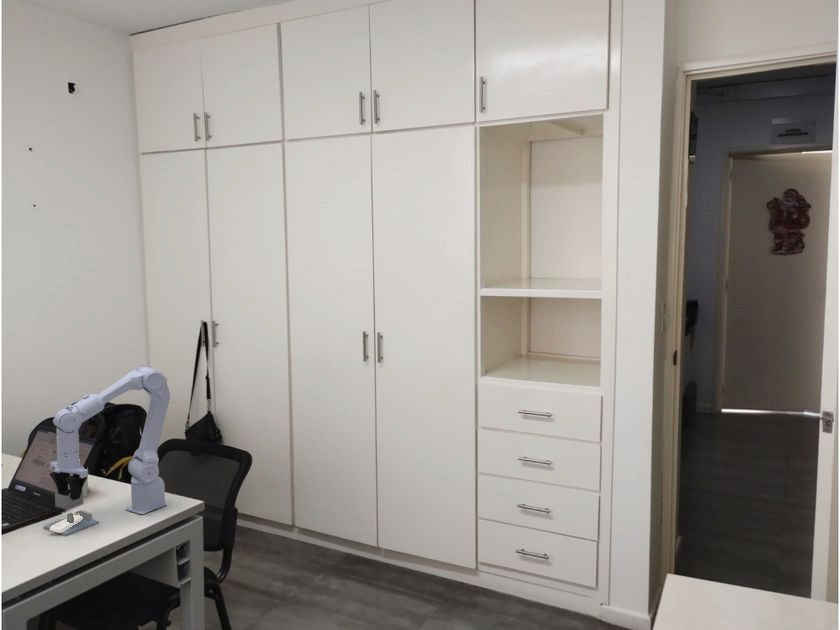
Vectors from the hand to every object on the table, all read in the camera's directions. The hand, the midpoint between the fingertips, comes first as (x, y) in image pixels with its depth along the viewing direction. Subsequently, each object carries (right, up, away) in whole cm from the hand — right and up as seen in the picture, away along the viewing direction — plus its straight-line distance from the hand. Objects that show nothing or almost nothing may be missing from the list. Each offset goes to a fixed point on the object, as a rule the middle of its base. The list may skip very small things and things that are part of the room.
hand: (69, 496), depth 202 cm
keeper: (0, -9, +1) cm, 9 cm away
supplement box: (-11, -6, +25) cm, 28 cm away
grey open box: (0, -2, 0) cm, 2 cm away
